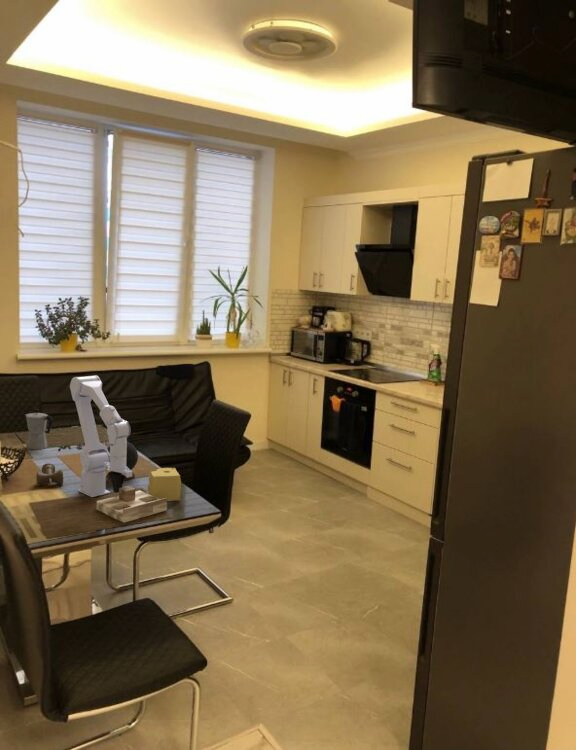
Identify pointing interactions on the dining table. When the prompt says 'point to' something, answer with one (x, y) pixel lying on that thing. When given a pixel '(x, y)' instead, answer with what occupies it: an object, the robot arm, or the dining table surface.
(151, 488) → the cheese
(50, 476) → the kendama
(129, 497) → the walnut cube
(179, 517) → the dining table surface
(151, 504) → the divided wooden tray
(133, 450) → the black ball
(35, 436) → the coffeepot
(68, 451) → the dining table surface
